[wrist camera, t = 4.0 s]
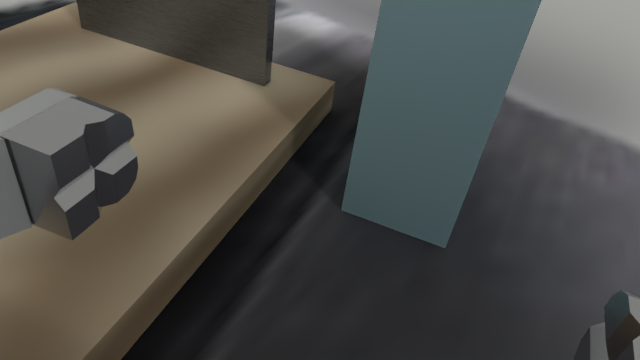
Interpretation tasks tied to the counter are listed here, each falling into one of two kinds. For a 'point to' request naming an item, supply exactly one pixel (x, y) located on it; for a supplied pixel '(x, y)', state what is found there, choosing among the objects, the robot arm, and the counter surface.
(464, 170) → the tall teal pillar
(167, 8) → the bookend
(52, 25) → the shelf board
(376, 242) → the counter surface
